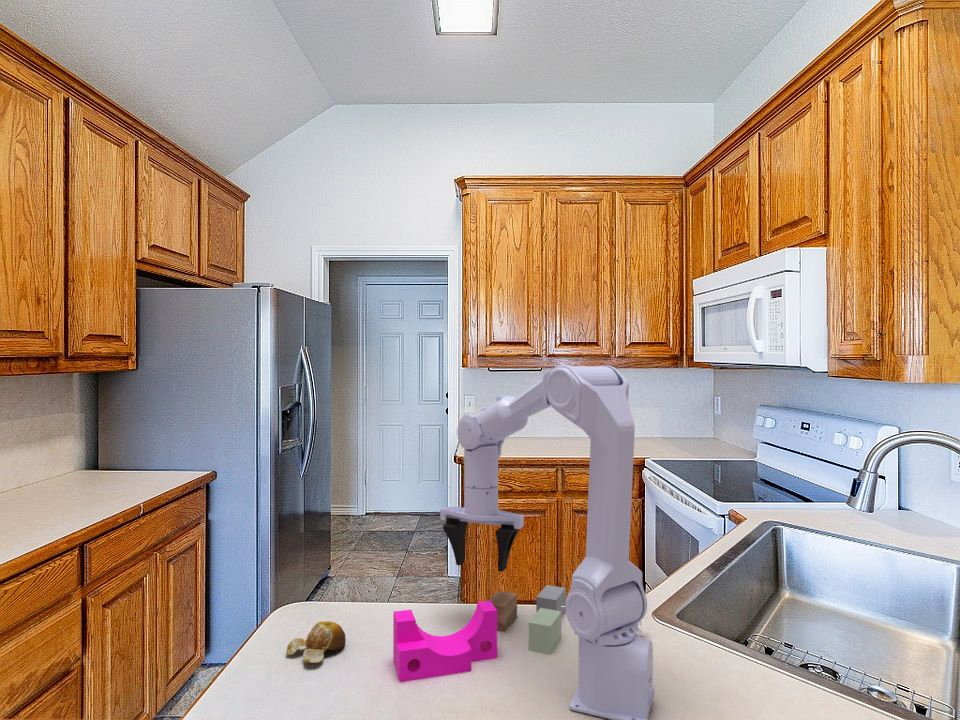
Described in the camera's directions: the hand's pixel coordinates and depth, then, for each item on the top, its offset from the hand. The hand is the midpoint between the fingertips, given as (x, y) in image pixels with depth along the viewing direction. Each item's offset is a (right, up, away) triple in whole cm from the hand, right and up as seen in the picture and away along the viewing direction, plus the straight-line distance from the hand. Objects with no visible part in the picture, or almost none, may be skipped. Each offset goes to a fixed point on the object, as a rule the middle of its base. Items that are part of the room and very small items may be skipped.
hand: (481, 566), depth 99 cm
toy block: (-5, -10, -12) cm, 17 cm away
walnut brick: (+3, -10, +1) cm, 11 cm away
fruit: (-26, -11, -12) cm, 31 cm away
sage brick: (+10, -10, -6) cm, 16 cm away
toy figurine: (+24, -10, -5) cm, 26 cm away
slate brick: (+12, -10, +3) cm, 16 cm away
